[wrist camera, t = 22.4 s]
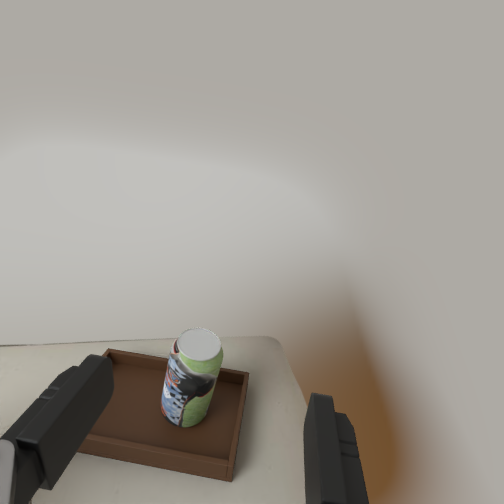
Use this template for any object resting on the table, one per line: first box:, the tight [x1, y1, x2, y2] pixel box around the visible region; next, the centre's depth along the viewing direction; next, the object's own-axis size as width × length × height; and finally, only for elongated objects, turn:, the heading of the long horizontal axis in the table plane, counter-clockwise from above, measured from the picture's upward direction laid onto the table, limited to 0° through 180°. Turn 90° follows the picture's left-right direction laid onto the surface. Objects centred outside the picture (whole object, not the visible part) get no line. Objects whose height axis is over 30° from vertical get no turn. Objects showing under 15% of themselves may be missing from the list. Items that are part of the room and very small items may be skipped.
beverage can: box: [160, 328, 223, 427], centre depth 37 cm, size 6×7×12 cm
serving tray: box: [77, 348, 249, 482], centre depth 39 cm, size 21×13×3 cm, turn 83°
